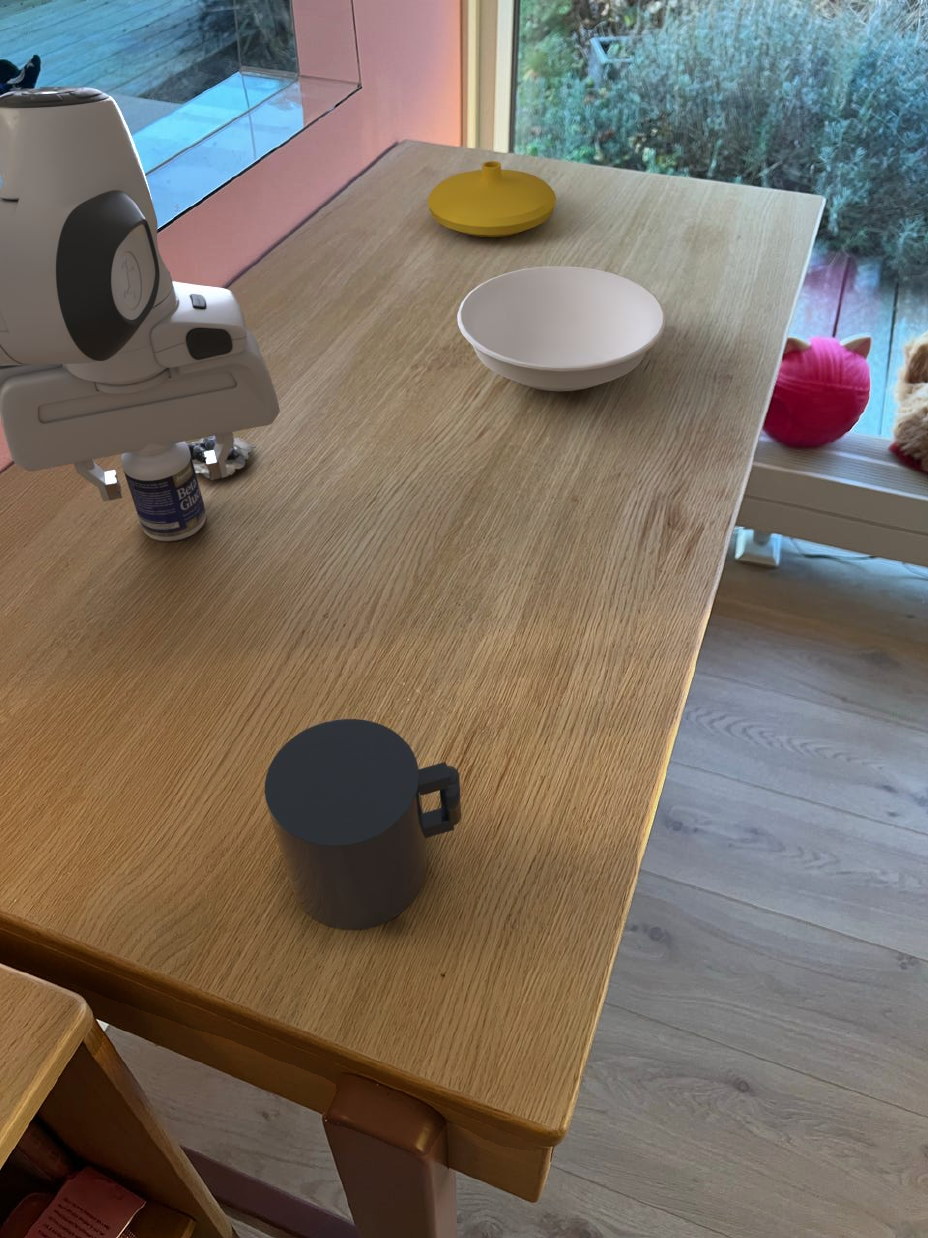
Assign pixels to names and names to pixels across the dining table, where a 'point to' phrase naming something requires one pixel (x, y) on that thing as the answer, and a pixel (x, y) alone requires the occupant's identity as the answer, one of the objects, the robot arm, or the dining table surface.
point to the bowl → (561, 326)
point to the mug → (356, 820)
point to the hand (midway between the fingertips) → (166, 484)
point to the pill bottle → (165, 490)
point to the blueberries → (232, 461)
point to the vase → (491, 201)
